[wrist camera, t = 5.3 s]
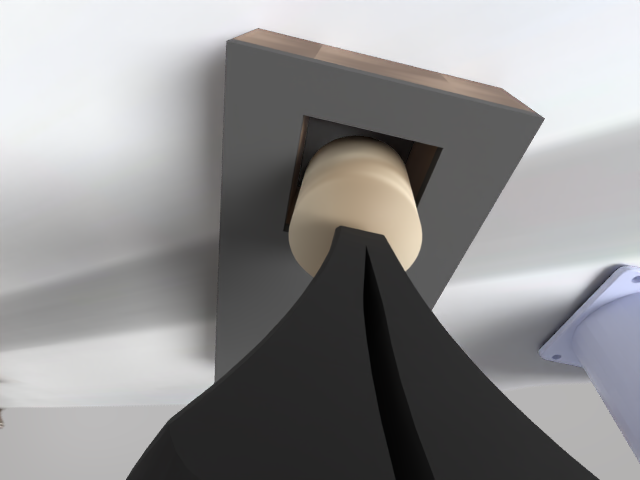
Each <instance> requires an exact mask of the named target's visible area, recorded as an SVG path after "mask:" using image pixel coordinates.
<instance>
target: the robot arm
mask: <svg viewBox="0 0 640 480" xmlns="http://www.w3.org/2000/svg"><path fill="white" fill-rule="evenodd" d="M539 355H540V357H541V358H542V359H545V360H550V361H555V362H559V363H564V364H569V365H574V366H578V367H583V368H584V370H585V371H586V373H587V375H588V376H589V378H590V380H591V382H592V383H593V385H594V387H595V388H596V390H597V392H598V393H599V395H600V397H601V398H602V400H603V402H604V404H605V405H606V407H607V409H608V410H609V412H610V414H611V415H612V417H613V419H614V421H615V422H616V424H617V426H618V427H619V429H620V431H621V432H622V434H623V436H624V437H625V439H626V441H627V443H628V444H629V446H630V448H631V449H632V451H633V453H634V454H635V456H636V458H637V460H638V461H639V462H640V268H638V267H633V266H624V267H621V268H619V269H617V270H616V271H615V272H614V273H613V274H612V275H611V276H610V277H609V278H608V279H607V280H606V281H605V282H604V283H603V284H602V285H601V286H600V288H599V289H598V290H597V291H596V292H595V293H594V294H593V295H592V296H591V297H590V298H589V299H588V300H587V301H586V302H585V303H584V304H583V305H582V306H581V307H580V308H579V309H578V310H577V311H576V312H575V313H574V314H573V315H572V316H571V317H570V318H569V319H568V321H567V322H566V323H565V324H564V325H563V326H562V327H561V328H560V329H559V330H558V331H557V332H556V333H555V334H554V335H553V336H552V337H551V338H550V339H549V340H548V341H547V342H546V343H545V344H544V345H543V346H542V347H541V348H540V350H539ZM126 480H599V479H598V478H597V477H596V476H594V475H593V474H592V473H591V472H590V471H588V470H587V469H586V468H585V467H583V466H582V465H581V464H580V463H579V462H577V461H576V460H575V459H574V458H573V457H571V456H570V455H569V454H568V453H567V452H566V451H564V450H563V449H562V448H561V447H560V446H559V445H558V444H556V443H555V442H554V441H553V440H552V439H551V438H550V437H549V436H547V435H546V434H545V433H544V432H543V431H542V430H541V429H540V428H539V427H538V426H537V425H535V424H534V423H533V422H532V421H531V420H530V419H529V418H528V417H527V416H526V415H524V413H523V412H521V411H520V410H519V409H518V408H517V407H516V406H515V405H514V404H513V403H512V402H511V401H510V400H509V399H508V398H507V397H506V396H505V395H504V394H503V393H502V392H501V391H500V390H499V389H498V388H497V387H496V386H495V385H494V384H493V383H492V382H491V381H490V380H489V379H488V378H487V377H486V376H485V374H484V373H483V372H482V371H481V370H480V369H479V368H478V367H477V366H476V365H475V364H474V363H473V362H472V360H471V359H470V358H469V357H468V356H467V355H466V354H465V352H464V351H463V350H462V349H461V348H460V346H459V345H458V344H457V343H456V342H455V341H454V339H453V338H452V337H451V336H450V335H449V333H448V332H447V331H446V330H445V328H444V327H443V326H442V325H441V323H440V322H439V321H438V319H437V318H436V316H435V315H434V314H433V312H432V311H431V310H430V308H429V307H428V305H427V304H426V303H425V301H424V300H423V298H422V297H421V295H420V294H419V292H418V291H417V289H416V288H415V286H414V285H413V283H412V282H411V280H410V278H409V277H408V275H407V273H406V272H405V270H404V268H403V267H402V265H401V263H400V262H399V260H398V258H397V256H396V255H395V253H394V251H393V249H392V248H391V246H390V244H389V243H388V241H387V239H386V237H385V236H384V235H382V234H377V233H373V232H368V231H364V230H359V229H355V228H350V227H346V226H339V227H337V228H336V229H335V233H334V236H333V240H332V243H331V247H330V250H329V252H328V254H327V256H326V258H325V260H324V262H323V263H322V265H321V267H320V269H319V270H318V272H317V273H316V275H315V276H314V278H313V279H312V281H311V282H310V284H309V285H308V287H307V288H306V290H305V291H304V292H303V294H302V295H301V296H300V298H299V299H298V300H297V301H296V303H295V304H294V305H293V306H292V308H291V309H290V310H289V311H288V312H287V314H286V315H285V316H284V317H283V318H282V319H281V320H280V321H279V323H278V324H277V325H276V326H275V327H274V328H273V329H272V330H271V331H270V332H269V333H268V334H267V335H266V337H265V338H264V339H263V340H262V341H261V342H260V343H259V344H258V345H257V346H256V347H255V348H253V349H252V350H251V351H250V352H249V353H248V354H247V355H246V356H245V357H244V358H243V359H241V360H240V361H239V362H238V363H237V364H236V365H235V366H234V367H233V368H232V369H231V370H229V371H228V372H227V373H226V374H225V375H224V376H223V377H222V378H220V379H219V380H218V381H217V382H216V383H215V384H213V385H212V386H211V387H210V388H208V389H207V390H206V391H205V392H203V393H202V394H201V395H200V396H198V397H197V398H196V399H194V400H193V401H192V402H191V403H189V404H188V405H187V406H186V407H185V408H183V409H182V410H181V411H179V412H178V413H177V414H176V415H174V416H173V417H172V418H171V419H170V420H169V421H168V422H167V423H166V424H165V425H164V427H163V428H162V429H161V431H160V432H159V433H158V435H157V436H156V437H155V438H154V440H153V441H152V442H151V444H150V445H149V446H148V448H147V449H146V450H145V452H144V453H143V455H142V456H141V458H140V459H139V460H138V462H137V463H136V465H135V466H134V468H133V469H132V471H131V472H130V474H129V476H128V477H127V479H126Z"/></svg>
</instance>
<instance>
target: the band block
mask: <svg viewBox="0 0 640 480" xmlns="http://www.w3.org/2000/svg"><path fill="white" fill-rule="evenodd" d="M310 117H314V118H318V119H323V120H327V121H331V122H335V123H340V124H344V125H348V126H352V127H357V128H361V129H365V130H369V131H373V132H378V133H382V134H386V135H390V136H395V137H399V138H403V139H407V140H412V141H414V144H413V146H412V149H411V151H410V154H409V157H408V159H407V162H406V165H405V167H406V170H407V173H408V177H409V181H410V185H411V189H412V193H413V197H414V200H415V204H416V208H417V212H418V216H419V220H420V224H421V228H422V244H421V248H420V251H419V253H418V256H417V258H416V259H415V261H414V262H413V264H412V265H411V266H410V268H409V269H407V270H406V271H405V272H406V273H407V275H408V277H409V278H410V280H411V282H412V283H413V285H414V286H415V288H416V289H417V291H418V292H419V294H420V295H421V297H422V298H423V300H424V301H425V303H426V304H427V305H428V307H429V308H430V310H432V309H433V307H434V305H435V304H436V302H437V300H438V299H439V297H440V295H441V294H442V292H443V290H444V288H445V287H446V285H447V283H448V282H449V280H450V278H451V277H452V275H453V273H454V272H455V270H456V268H457V266H458V265H459V263H460V261H461V260H462V258H463V256H464V255H465V253H466V251H467V250H468V248H469V246H470V244H471V243H472V241H473V239H474V238H475V236H476V234H477V233H478V231H479V229H480V228H481V226H482V224H483V222H484V221H485V219H486V217H487V216H488V214H489V212H490V211H491V209H492V207H493V206H494V204H495V202H496V200H497V199H498V197H499V195H500V194H501V192H502V190H503V189H504V187H505V185H506V184H507V182H508V180H509V179H510V177H511V175H512V173H513V172H514V170H515V168H516V167H517V165H518V163H519V162H520V160H521V158H522V157H523V155H524V153H525V151H526V150H527V148H528V146H529V145H530V143H531V141H532V140H533V138H534V136H535V135H536V133H537V131H538V129H539V128H540V126H541V124H542V123H543V121H544V119H545V118H543V117H542V116H540V115H539V114H538V113H536V112H535V111H533V110H532V109H530V108H529V107H528V106H526V105H525V104H523V103H522V102H521V101H519V100H518V99H516V98H515V97H513V96H512V95H511V94H509V93H508V92H506V91H505V90H504V89H502V88H498V87H494V86H490V85H486V84H482V83H478V82H474V81H470V80H466V79H462V78H458V77H454V76H449V75H445V74H441V73H437V72H433V71H429V70H425V69H421V68H417V67H413V66H409V65H405V64H401V63H397V62H393V61H389V60H385V59H381V58H377V57H372V56H368V55H364V54H360V53H356V52H352V51H348V50H344V49H340V48H336V47H332V46H328V45H324V44H320V43H316V42H312V41H308V40H304V39H299V38H295V37H291V36H287V35H283V34H279V33H275V32H271V31H267V30H263V29H259V28H258V29H255V30H253V31H250V32H248V33H245V34H243V35H240V36H238V37H235V38H233V39H230V40H228V41H227V44H226V72H225V100H224V128H223V156H222V185H221V213H220V241H219V269H218V298H217V326H216V354H215V382H214V384H215V383H216V382H217V381H218V380H219V379H220V378H222V377H223V376H224V375H225V374H226V373H227V372H228V371H229V370H231V369H232V368H233V367H234V366H235V365H236V364H237V363H238V362H239V361H240V360H241V359H243V358H244V357H245V356H246V355H247V354H248V353H249V352H250V351H251V350H252V349H253V348H255V347H256V346H257V345H258V344H259V343H260V342H261V341H262V340H263V339H264V338H265V337H266V335H267V334H268V333H269V332H270V331H271V330H272V329H273V328H274V327H275V326H276V325H277V324H278V323H279V321H280V320H281V319H282V318H283V317H284V316H285V315H286V314H287V312H288V311H289V310H290V309H291V308H292V306H293V305H294V304H295V303H296V301H297V300H298V299H299V298H300V296H301V295H302V294H303V292H304V291H305V290H306V288H307V287H308V285H309V284H310V282H311V281H312V279H313V278H314V277H312V276H311V275H310V274H308V273H307V272H306V271H305V270H304V269H303V268H302V267H301V266H300V265H299V263H298V262H297V261H296V259H295V257H294V255H293V253H292V251H291V248H290V244H289V226H290V223H291V219H292V215H293V212H294V209H295V205H296V202H297V198H298V195H299V192H300V188H301V187H298V186H297V184H298V179H299V173H300V168H301V162H302V157H303V152H304V146H305V141H306V135H307V130H308V124H309V119H310Z"/></svg>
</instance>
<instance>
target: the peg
mask: <svg viewBox="0 0 640 480" xmlns="http://www.w3.org/2000/svg"><path fill="white" fill-rule="evenodd" d="M339 226H346V227H350V228H355V229H359V230H364V231H368V232H373V233H377V234H382V235H384V236H385V237H386V239H387V241H388V243H389V244H390V246H391V248H392V249H393V251H394V253H395V255H396V256H397V258H398V260H399V262H400V263H401V265H402V267H403V268H404V270H405V271H406V270H407V269H409V268H410V266H411V265H412V264H413V262H414V261H415V259H416V258H417V256H418V253H419V251H420V248H421V244H422V228H421V224H420V220H419V216H418V212H417V208H416V204H415V200H414V197H413V193H412V189H411V185H410V181H409V177H408V173H407V170H406V167H405V164H404V162H403V160H402V159H401V157H400V156H399V155H398V153H397V152H396V151H395V150H394V149H393V148H391V147H390V146H389V145H387V144H386V143H384V142H382V141H380V140H378V139H375V138H372V137H368V136H359V135H354V136H346V137H341V138H338V139H335V140H333V141H331V142H329V143H327V144H326V145H324V146H323V147H321V148H320V149H319V150H318V151H317V152H316V153H315V155H314V156H313V157H312V158H311V160H310V162H309V163H308V166H307V168H306V171H305V175H304V178H303V181H302V185H301V188H300V192H299V195H298V198H297V202H296V205H295V209H294V212H293V215H292V219H291V223H290V226H289V244H290V248H291V251H292V253H293V255H294V257H295V259H296V261H297V262H298V263H299V265H300V266H301V267H302V268H303V269H304V270H305V271H306V272H307V273H308V274H310V275H311V276H312V277H314V276H315V275H316V273H317V272H318V270H319V269H320V267H321V265H322V263H323V262H324V260H325V258H326V256H327V254H328V252H329V250H330V247H331V243H332V240H333V236H334V233H335V229H336V228H337V227H339Z"/></svg>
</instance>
